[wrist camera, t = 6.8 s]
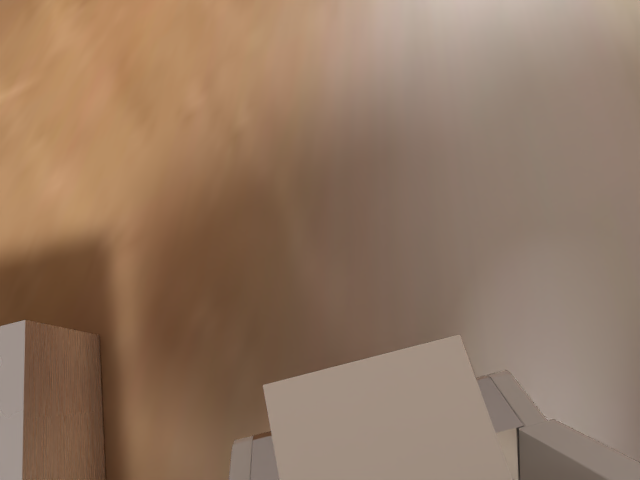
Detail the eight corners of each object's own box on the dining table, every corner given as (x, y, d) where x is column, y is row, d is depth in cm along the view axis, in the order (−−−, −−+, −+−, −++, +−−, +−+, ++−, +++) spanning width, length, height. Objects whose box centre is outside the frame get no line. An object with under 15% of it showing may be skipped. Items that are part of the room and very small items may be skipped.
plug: (445, 476, 14) (547, 578, 7) (333, 505, 14) (308, 640, 7) (409, 359, 15) (459, 334, 8) (307, 386, 15) (262, 385, 8)
